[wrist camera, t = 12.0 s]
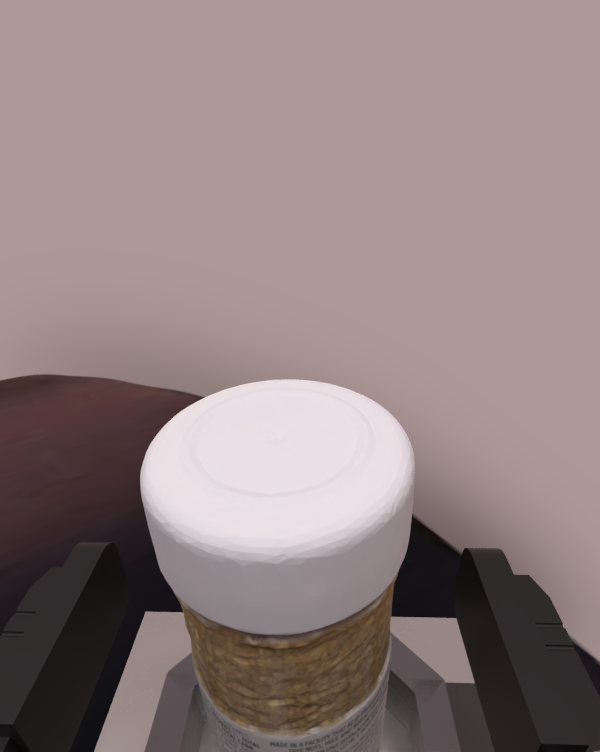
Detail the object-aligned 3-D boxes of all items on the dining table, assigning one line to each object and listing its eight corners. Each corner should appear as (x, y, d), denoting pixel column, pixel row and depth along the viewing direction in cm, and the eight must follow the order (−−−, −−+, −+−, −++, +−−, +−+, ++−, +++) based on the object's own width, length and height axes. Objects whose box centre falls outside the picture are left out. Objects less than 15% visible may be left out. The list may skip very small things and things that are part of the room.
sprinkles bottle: (348, 690, 16) (361, 358, 10) (400, 867, 12) (480, 506, 6) (222, 724, 15) (146, 386, 9) (234, 926, 11) (112, 581, 5)
